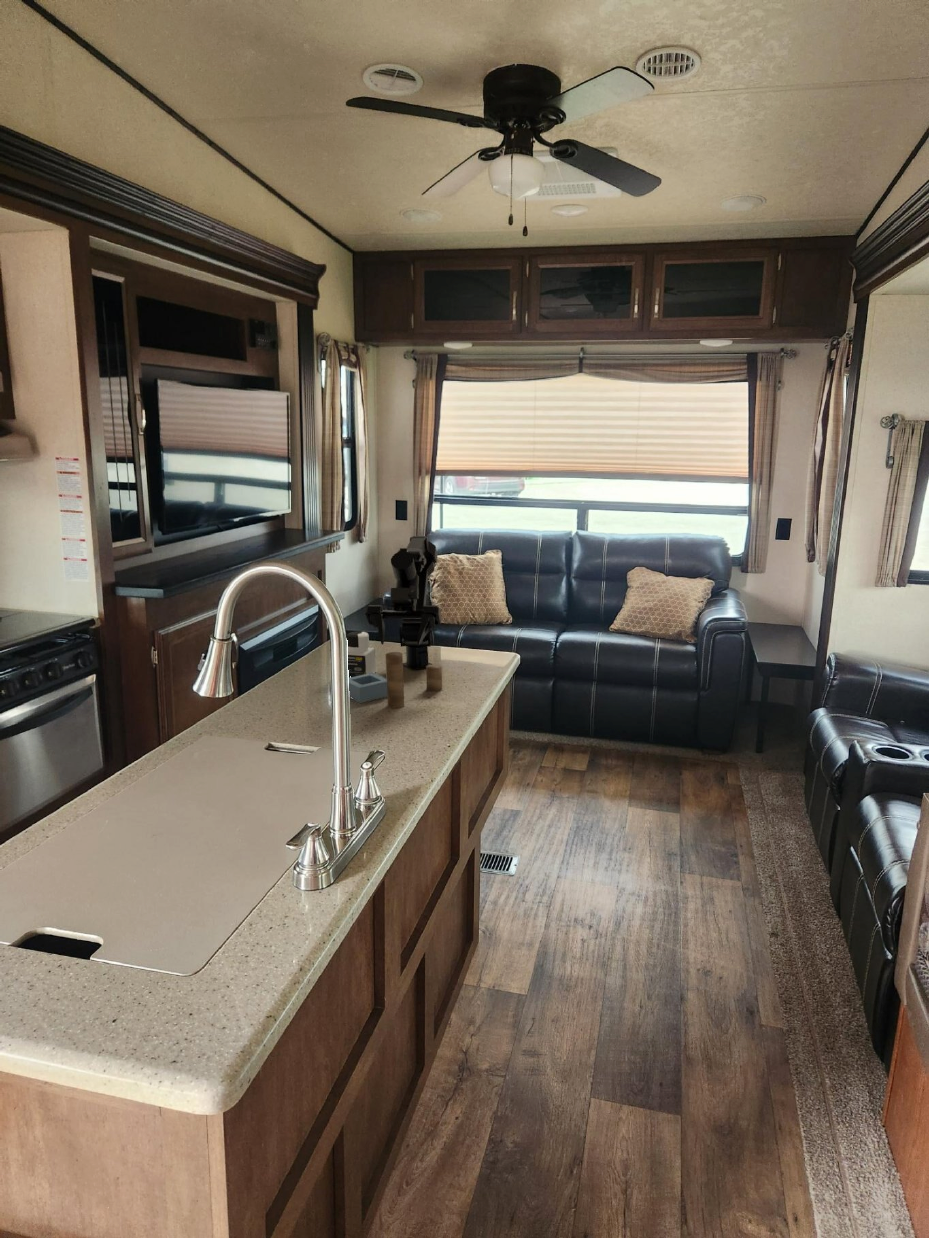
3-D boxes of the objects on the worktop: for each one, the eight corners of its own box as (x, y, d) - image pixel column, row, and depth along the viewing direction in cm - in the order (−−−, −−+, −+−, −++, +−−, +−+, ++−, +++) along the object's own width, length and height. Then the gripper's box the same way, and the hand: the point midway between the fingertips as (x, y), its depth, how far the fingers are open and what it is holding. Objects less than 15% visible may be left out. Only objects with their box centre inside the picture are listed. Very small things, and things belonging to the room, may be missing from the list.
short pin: (423, 688, 215) (423, 666, 213) (436, 685, 217) (435, 663, 216) (432, 692, 212) (431, 669, 210) (445, 689, 214) (444, 667, 213)
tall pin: (384, 705, 203) (382, 654, 200) (398, 701, 205) (396, 651, 202) (393, 709, 200) (391, 657, 197) (407, 705, 202) (405, 654, 199)
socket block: (343, 694, 212) (342, 679, 211) (373, 687, 217) (372, 672, 216) (360, 703, 205) (359, 687, 204) (390, 695, 210) (390, 680, 209)
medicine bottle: (342, 678, 225) (339, 635, 222) (352, 670, 232) (350, 629, 229) (366, 680, 223) (364, 636, 220) (376, 672, 230) (374, 630, 227)
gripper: (365, 574, 210) (357, 627, 202) (438, 574, 208) (433, 627, 199) (373, 598, 219) (365, 649, 211) (443, 598, 217) (438, 650, 209)
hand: (400, 644), depth 207 cm, fingers open, 9 cm apart
